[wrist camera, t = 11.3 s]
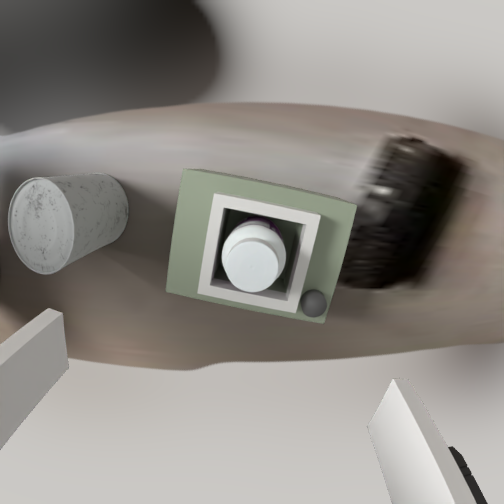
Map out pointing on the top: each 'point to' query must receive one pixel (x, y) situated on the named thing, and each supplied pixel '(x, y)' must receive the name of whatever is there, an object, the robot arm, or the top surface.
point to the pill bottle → (254, 254)
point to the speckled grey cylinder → (65, 218)
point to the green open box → (292, 230)
